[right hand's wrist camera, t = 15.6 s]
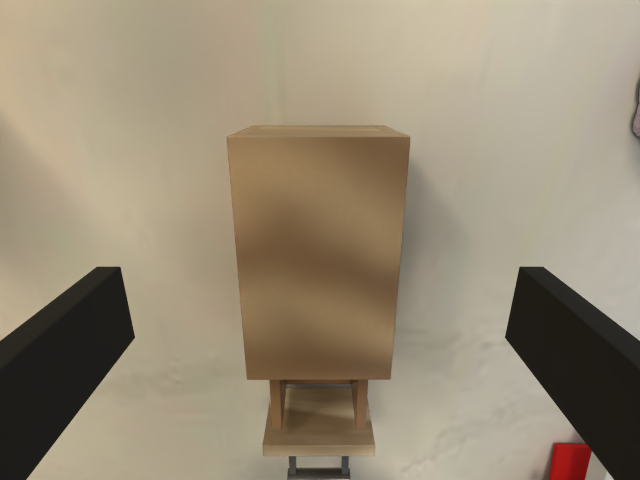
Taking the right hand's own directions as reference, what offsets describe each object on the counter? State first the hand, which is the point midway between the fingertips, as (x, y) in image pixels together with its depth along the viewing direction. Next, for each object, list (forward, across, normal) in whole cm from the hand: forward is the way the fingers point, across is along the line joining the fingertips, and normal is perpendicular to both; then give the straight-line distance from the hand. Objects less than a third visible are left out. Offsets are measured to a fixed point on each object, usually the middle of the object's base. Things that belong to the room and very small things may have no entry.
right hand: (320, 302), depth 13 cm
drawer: (+19, 0, -17) cm, 25 cm away
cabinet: (+20, 0, -4) cm, 20 cm away
